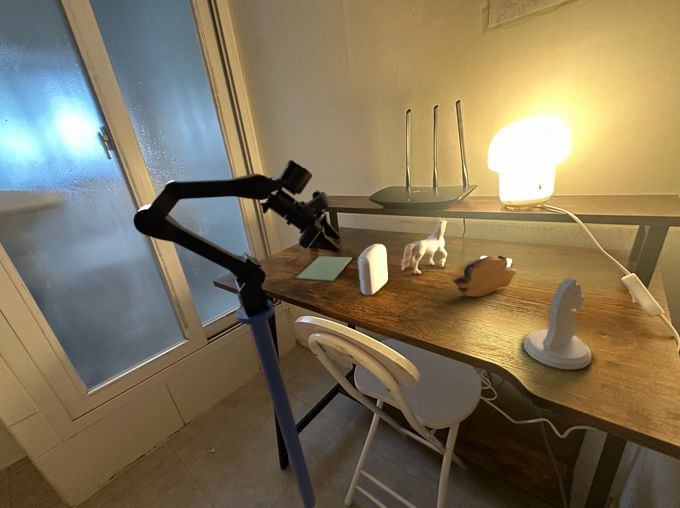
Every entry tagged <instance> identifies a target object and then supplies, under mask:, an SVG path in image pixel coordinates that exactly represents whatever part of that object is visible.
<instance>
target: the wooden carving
mask: <svg viewBox="0 0 680 508" xmlns="http://www.w3.org/2000/svg"><path fill="white" fill-rule="evenodd" d="M507 259H508V258H507V257H505V256H502V255H498V257H497V256H493V255H491V256H490V255H489V256H487V257H485V258H482V259H480V258H479V259H476V260H475V261H473V262H472V263H470V264H467V265H466V266H465V268H464V270H463V276H462V277H458V278H456V279H454V281H453V284H455V285H456V286H457V287H458V288H457V290H458V291H459V292H461V293H462V294H463V295H465V296H468V297H475V298H476V297H477V298H478V297H483V296H486V295H489V294H491V293H493V292H494V291H496V290H498V289H499V288H505V287H508V286H509V285H510V284H511V283H512V280H513V279H514V276H515V275H516V274H517V270H516V269H515V268H511V266H510V267H507V265H508V262H507Z"/></svg>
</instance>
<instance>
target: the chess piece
mask: <svg viewBox="0 0 680 508" xmlns="http://www.w3.org/2000/svg"><path fill="white" fill-rule="evenodd" d="M584 302H585V295H583V294H582V287H581V285H580V284H579V283H578V281H577V279H574V278H571V277H567V278H565V279H564V280H563V281H562V282H561V283H560V284H559V285H558V287H557V288H556V290H555V291H554V294H553V296H552V300H551V301H550V305H549V309H548V328H542V329H537V330H535V331H532V332H530V333H529V334H528V335H526V337H525V339H524V341H523V346H524V350H525V351H526V352H527V354H528V355H529V356H531V358H533V359H534V360H536V361H538V362H540V363H542V364H544V365H546V366H549V367H552V368H557V369H561V370H579V369H584V368H585V367H587V366H588V365H589V364H590V363H591V361H592V352H591V349H590V348H589V347H588V345H587V344H586V343H585V342H584V341H583V340H582V339H580V338H579V337H577V336H576V335H575V334H576V332H577V329H578V324H577V321H576V319H575V317H574V315H573V313H572V311H574V312H580V308H582V307H583V305H584Z"/></svg>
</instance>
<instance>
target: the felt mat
mask: <svg viewBox="0 0 680 508" xmlns="http://www.w3.org/2000/svg"><path fill="white" fill-rule="evenodd" d="M352 259H353V257H352V256H351V257H349V256H324V255H319V256H318V257H316V258H315V260H314V261H313V262H311V263H310V264H309V265H308V266H307V267H306V268H305V269H304V270H303V271H301V272H300V273H299V274H298V275H297V276H296V277H295V279H297V280H308V281H309V280H311V281H322V282H324V281H325V282H333V281H335V280H336V278H337V277H338V276H339V275H340V274H341V272H342V271H343V270H344V269H345V267H346V266H347V265H348V264H349V263H350V262H351V261H352Z"/></svg>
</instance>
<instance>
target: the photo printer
mask: <svg viewBox="0 0 680 508" xmlns="http://www.w3.org/2000/svg"><path fill="white" fill-rule="evenodd" d="M387 257H388V255H387V248H386V247H385V245H384V244H381V243H375V244H372V245H369V246H367V247H366V248H365V249H364V250H362V252H361V253H360V255H359V256H358V259H357V267H358V276H359V288H360V293H361V294H363V295H365V296H372V295H374V294H375V293H376V292H378V291H379V290H380V289H381V288H383V286H384V285H385V284H387V282H388V280H389V276H388V275H389V274H388V273H389V272H388V258H387Z"/></svg>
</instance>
